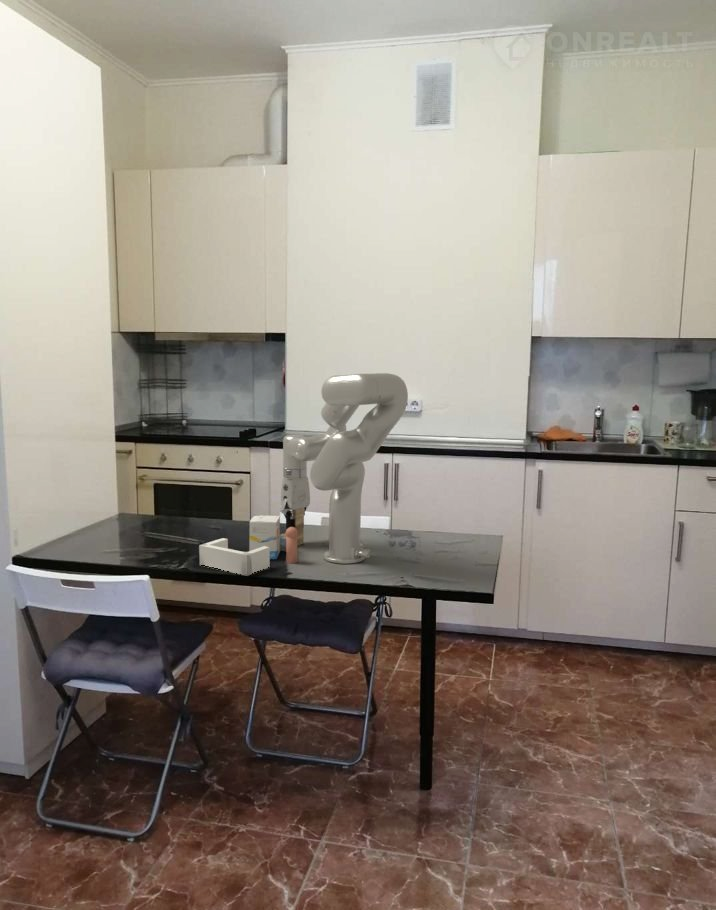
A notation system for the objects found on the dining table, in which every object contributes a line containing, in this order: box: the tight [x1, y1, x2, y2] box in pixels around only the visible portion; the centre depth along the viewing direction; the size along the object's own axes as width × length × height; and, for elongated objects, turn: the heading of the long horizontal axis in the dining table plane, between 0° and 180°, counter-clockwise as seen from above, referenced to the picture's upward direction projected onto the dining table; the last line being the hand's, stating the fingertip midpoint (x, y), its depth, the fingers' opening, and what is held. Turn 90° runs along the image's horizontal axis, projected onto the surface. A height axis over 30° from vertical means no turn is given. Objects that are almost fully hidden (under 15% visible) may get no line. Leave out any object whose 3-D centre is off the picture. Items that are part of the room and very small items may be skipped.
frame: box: [198, 537, 271, 577], centre depth 210 cm, size 18×10×6 cm, turn 58°
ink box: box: [248, 514, 281, 560], centre depth 222 cm, size 9×8×12 cm
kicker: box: [280, 508, 305, 552], centre depth 232 cm, size 10×11×14 cm
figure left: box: [285, 527, 298, 564], centre depth 215 cm, size 4×4×11 cm
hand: (294, 528), depth 235 cm, fingers closed on kicker, 4 cm apart
